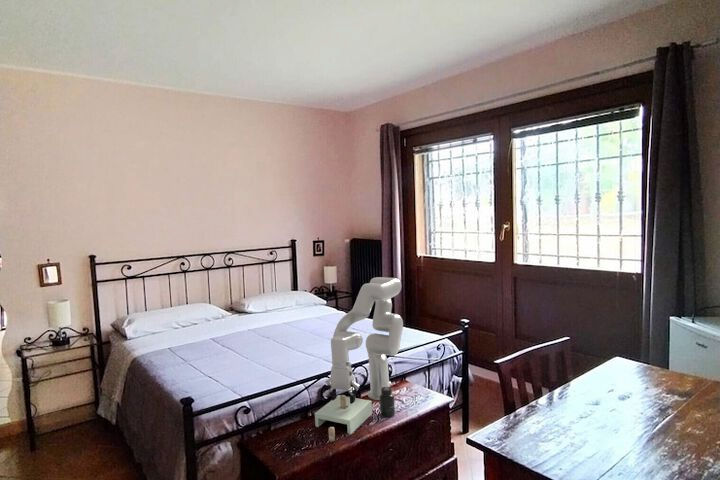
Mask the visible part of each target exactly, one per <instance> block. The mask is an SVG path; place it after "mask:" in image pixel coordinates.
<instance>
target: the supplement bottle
mask: <svg viewBox="0 0 720 480" xmlns="http://www.w3.org/2000/svg"><path fill="white" fill-rule="evenodd" d="M392 392H393V390H392V387H383V388H381V393H382V394H381V395H380V397H379V399H380V400H379V412H380V416H382V417H384V418H391V417H394V416H395V415H396V409H395V408H396V407H395V405H396V403H395V395H394V393H393V394H392Z"/></svg>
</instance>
